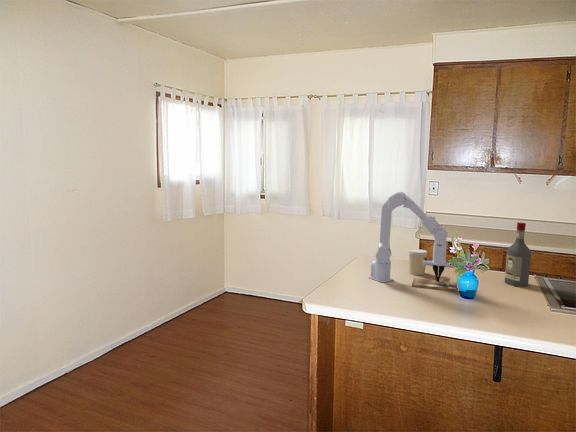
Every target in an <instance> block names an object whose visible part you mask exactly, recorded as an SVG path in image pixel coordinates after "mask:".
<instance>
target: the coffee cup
mask: <svg viewBox="0 0 576 432" xmlns="http://www.w3.org/2000/svg"><path fill="white" fill-rule="evenodd" d="M427 256H428V251H427V250H425V249H422V248H421V249H419V248H411V249H409V251H408V271H409V273H408V274H410V275H414V276H423V275H425V272H426V266H427V265H423V260H424V261H427V258H428V257H427Z"/></svg>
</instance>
